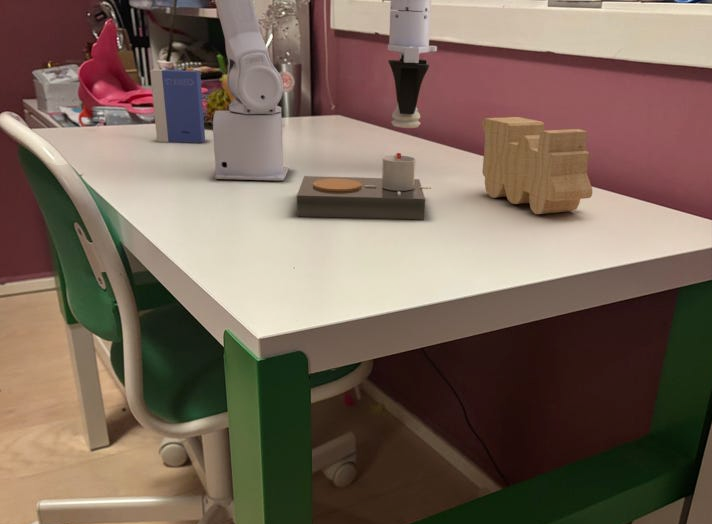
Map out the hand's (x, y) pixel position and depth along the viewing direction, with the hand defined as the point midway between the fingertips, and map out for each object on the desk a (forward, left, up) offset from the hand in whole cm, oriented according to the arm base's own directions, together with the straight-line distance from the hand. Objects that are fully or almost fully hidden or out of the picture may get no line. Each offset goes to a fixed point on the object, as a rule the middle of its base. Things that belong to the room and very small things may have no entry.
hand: (406, 112), depth 110 cm
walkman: (-38, +20, -9) cm, 44 cm away
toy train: (+16, -20, -9) cm, 27 cm away
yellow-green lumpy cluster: (-32, +41, -9) cm, 53 cm away
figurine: (-26, +13, -9) cm, 31 cm away
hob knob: (-2, -24, -6) cm, 24 cm away
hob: (-6, -24, -9) cm, 26 cm away
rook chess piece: (0, 0, -2) cm, 2 cm away
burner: (-9, -24, -6) cm, 26 cm away
